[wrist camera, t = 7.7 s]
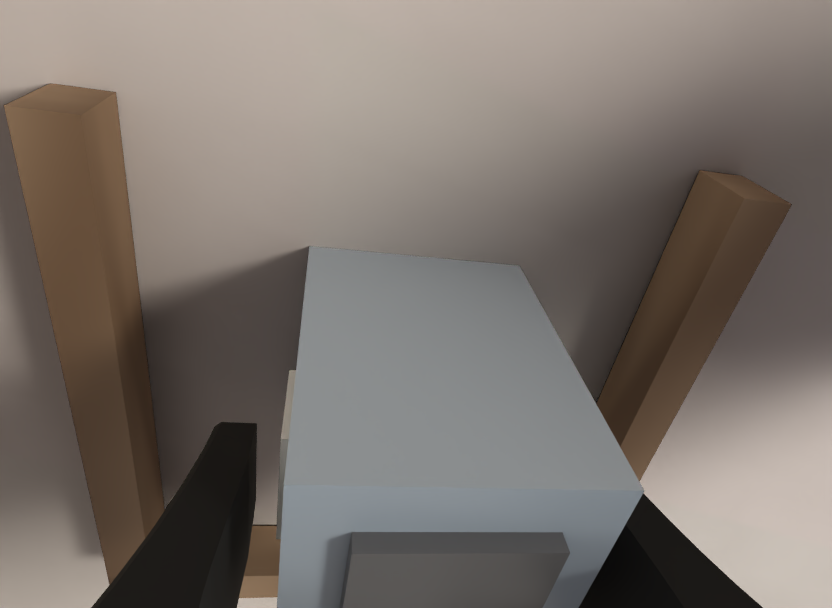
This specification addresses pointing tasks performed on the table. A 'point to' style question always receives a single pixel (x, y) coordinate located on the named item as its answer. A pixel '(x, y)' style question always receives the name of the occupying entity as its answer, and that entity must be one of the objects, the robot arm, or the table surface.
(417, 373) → the block
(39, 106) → the bay
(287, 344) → the table surface
